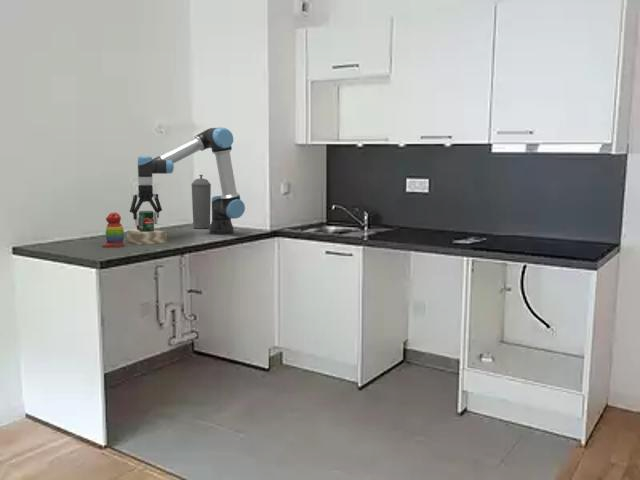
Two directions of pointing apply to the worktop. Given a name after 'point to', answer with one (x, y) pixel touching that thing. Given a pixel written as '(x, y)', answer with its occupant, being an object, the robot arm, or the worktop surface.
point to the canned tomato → (146, 221)
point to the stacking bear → (114, 231)
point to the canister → (201, 203)
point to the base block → (146, 237)
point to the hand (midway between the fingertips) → (146, 224)
